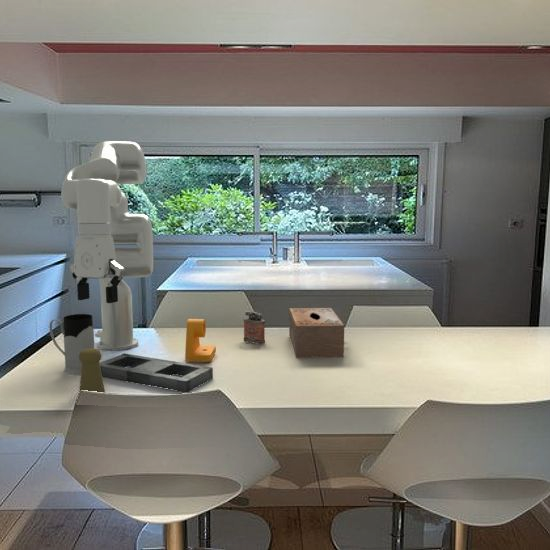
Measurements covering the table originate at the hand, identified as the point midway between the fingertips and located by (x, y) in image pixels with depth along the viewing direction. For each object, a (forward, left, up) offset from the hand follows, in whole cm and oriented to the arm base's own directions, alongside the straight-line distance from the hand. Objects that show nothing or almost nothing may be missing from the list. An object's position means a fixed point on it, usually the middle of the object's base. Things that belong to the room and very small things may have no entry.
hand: (97, 300), depth 134 cm
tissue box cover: (+33, +61, -23) cm, 73 cm away
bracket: (+8, +33, -23) cm, 41 cm away
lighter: (+13, +57, -23) cm, 63 cm away
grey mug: (-19, +9, -23) cm, 31 cm away
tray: (+6, +13, -23) cm, 27 cm away
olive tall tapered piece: (0, -3, -23) cm, 23 cm away
